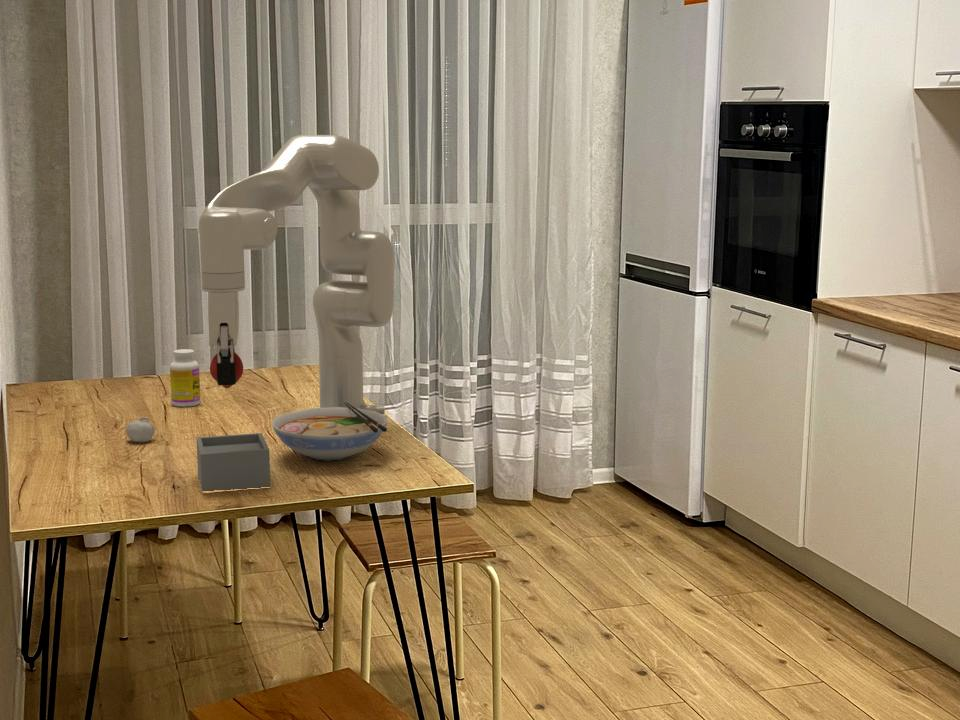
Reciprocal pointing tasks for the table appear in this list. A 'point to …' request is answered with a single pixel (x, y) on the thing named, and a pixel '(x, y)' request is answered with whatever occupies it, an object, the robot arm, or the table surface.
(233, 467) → the grey hollow box
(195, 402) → the supplement bottle
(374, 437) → the ramen bowl
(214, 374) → the onion
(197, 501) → the table surface
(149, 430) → the garlic
